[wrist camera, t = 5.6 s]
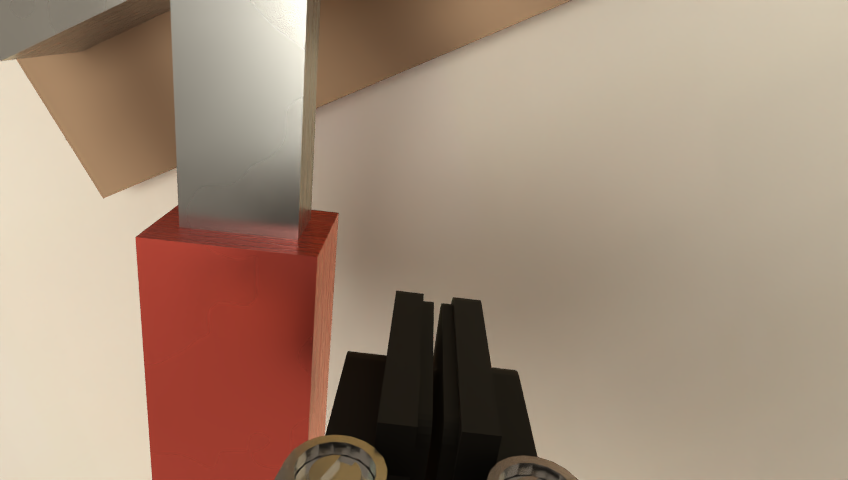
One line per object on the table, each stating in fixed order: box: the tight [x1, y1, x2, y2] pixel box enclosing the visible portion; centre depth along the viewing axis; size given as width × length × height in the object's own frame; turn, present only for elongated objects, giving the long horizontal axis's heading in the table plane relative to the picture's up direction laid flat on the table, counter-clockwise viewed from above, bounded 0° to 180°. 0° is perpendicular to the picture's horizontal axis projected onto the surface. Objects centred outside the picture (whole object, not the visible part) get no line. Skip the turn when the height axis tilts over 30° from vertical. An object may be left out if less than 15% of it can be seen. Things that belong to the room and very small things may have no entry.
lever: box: [136, 0, 339, 480], centre depth 9 cm, size 3×16×3 cm, turn 174°
